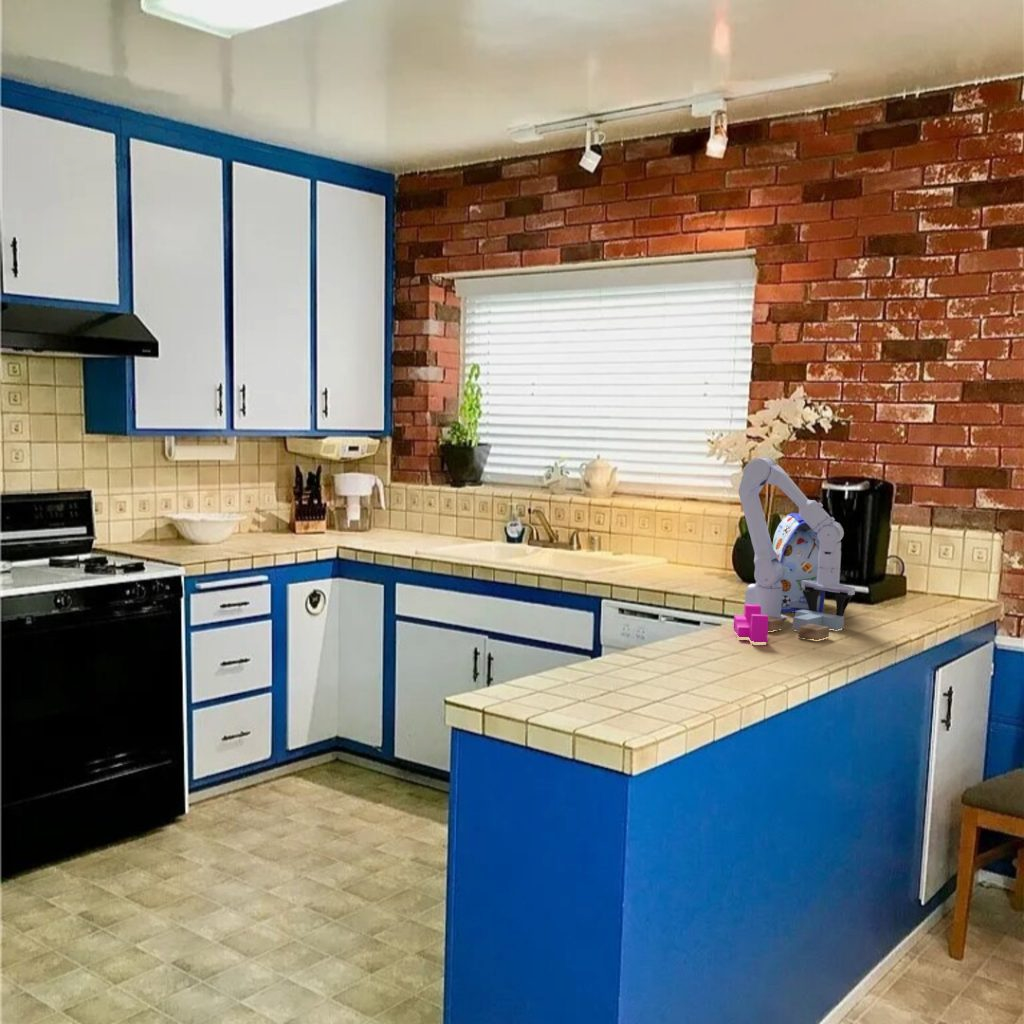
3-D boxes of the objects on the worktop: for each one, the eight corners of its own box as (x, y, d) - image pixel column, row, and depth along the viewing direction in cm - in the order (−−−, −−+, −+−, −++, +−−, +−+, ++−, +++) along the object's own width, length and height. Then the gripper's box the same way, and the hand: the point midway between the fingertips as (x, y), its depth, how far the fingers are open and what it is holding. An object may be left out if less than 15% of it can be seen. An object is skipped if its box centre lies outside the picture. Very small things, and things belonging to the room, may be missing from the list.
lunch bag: (833, 615, 291) (839, 520, 288) (773, 612, 293) (778, 518, 290) (817, 600, 314) (822, 512, 311) (762, 598, 315) (766, 510, 312)
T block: (778, 628, 272) (779, 614, 272) (802, 622, 281) (803, 609, 280) (820, 636, 264) (821, 622, 263) (843, 629, 272) (844, 616, 272)
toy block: (733, 632, 266) (734, 603, 266) (757, 633, 266) (759, 604, 265) (740, 645, 252) (742, 615, 251) (766, 646, 251) (768, 616, 250)
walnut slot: (753, 629, 269) (754, 618, 269) (765, 626, 273) (766, 615, 273) (816, 642, 256) (817, 630, 256) (828, 638, 260) (829, 626, 260)
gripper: (796, 565, 278) (794, 615, 280) (847, 572, 268) (844, 624, 269) (809, 563, 283) (807, 612, 285) (859, 570, 273) (856, 620, 274)
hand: (825, 617), depth 277 cm, fingers open, 7 cm apart
